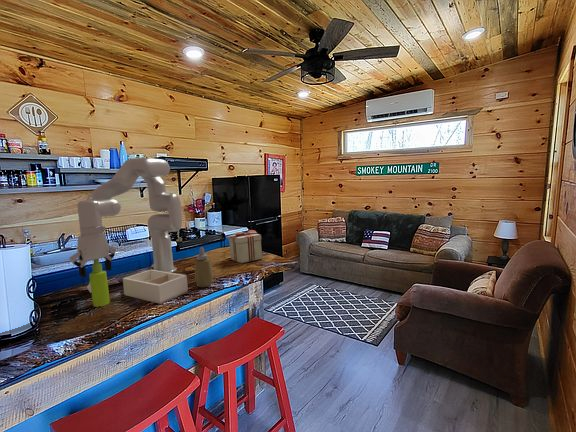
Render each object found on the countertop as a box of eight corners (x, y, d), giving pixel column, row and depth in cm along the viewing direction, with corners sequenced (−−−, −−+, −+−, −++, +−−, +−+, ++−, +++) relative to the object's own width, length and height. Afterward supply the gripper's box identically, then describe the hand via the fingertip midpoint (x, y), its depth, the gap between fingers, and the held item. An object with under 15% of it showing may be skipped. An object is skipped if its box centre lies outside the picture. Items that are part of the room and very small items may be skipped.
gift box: (248, 254, 198) (246, 227, 195) (264, 258, 183) (262, 230, 181) (224, 259, 187) (222, 231, 185) (239, 264, 173) (237, 235, 171)
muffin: (106, 292, 138) (104, 277, 137) (92, 296, 133) (90, 281, 132) (99, 290, 141) (97, 275, 140) (85, 294, 136) (83, 279, 135)
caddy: (124, 295, 133) (122, 278, 132) (152, 284, 145) (151, 269, 144) (160, 303, 121) (158, 285, 120) (188, 291, 133) (186, 275, 132)
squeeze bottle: (195, 289, 136) (191, 250, 133) (195, 283, 143) (192, 246, 141) (214, 287, 138) (210, 248, 135) (213, 281, 145) (210, 244, 143)
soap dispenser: (105, 299, 129) (99, 253, 127) (112, 303, 125) (106, 255, 122) (90, 304, 124) (83, 256, 122) (96, 308, 120) (89, 258, 118)
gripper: (108, 227, 130) (112, 267, 132) (62, 234, 115) (67, 278, 117) (118, 228, 126) (122, 268, 128) (72, 235, 111) (77, 280, 113)
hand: (96, 273), depth 122 cm, fingers open, 9 cm apart
